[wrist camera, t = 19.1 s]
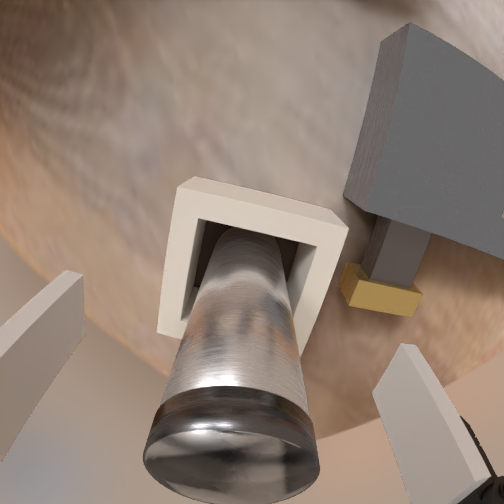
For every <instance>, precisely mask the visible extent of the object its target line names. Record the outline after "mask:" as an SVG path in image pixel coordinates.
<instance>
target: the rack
mask: <svg viewBox="0 0 504 504" xmlns="http://www.w3.org/2000/svg"><path fill="white" fill-rule="evenodd" d="M206 220H209V221H213V222H217V223H222V224H226V225H230V226H235V227H239V228H243V229H247V230H252V231H256V232H260V233H264V234H269V235H273V236H277V237H281V238H285V239H289V240H294V241H298V242H299V245H298V248H297V252H296V255H295V258H294V261H293V265H292V268H291V271H290V274H289V277H288V281H287V284H286V285H287V291H288V296H289V301H290V306H291V312H292V317H293V323H294V328H295V334H296V339H297V345H298V350H299V356H300V357H301V355H302V353H303V350H304V348H305V345H306V343H307V341H308V338H309V336H310V333H311V331H312V328H313V326H314V323H315V321H316V318H317V316H318V313H319V311H320V308H321V306H322V303H323V300H324V298H325V295H326V292H327V290H328V287H329V284H330V282H331V279H332V276H333V273H334V271H335V268H336V265H337V262H338V259H339V257H340V254H341V251H342V248H343V245H344V242H345V239H346V236H347V233H348V230H349V228H348V227H347V226H346V225H345V224H344V223H343V222H342V221H341V220H340V219H339V218H338V217H337V216H336V215H335V214H334V213H333V212H332V211H331V210H330V209H327V208H324V207H320V206H316V205H313V204H309V203H305V202H301V201H298V200H294V199H290V198H286V197H282V196H278V195H274V194H270V193H266V192H262V191H258V190H254V189H249V188H245V187H241V186H237V185H232V184H228V183H223V182H219V181H215V180H210V179H205V178H201V177H196V176H194V177H192V178H191V179H189V180H187V181H186V182H184V183H183V184H181V185H180V186H178V187H177V192H176V197H175V203H174V208H173V214H172V220H171V226H170V232H169V239H168V245H167V252H166V259H165V266H164V273H163V281H162V289H161V297H160V306H159V315H158V325H157V333H159V334H163V335H167V336H171V337H175V338H179V339H182V337H183V334H184V332H185V329H186V326H187V323H188V320H189V317H190V314H191V311H192V308H193V306H194V303H195V300H196V297H197V294H198V291H199V289H200V288H197V287H194V282H195V276H196V271H197V265H198V260H199V255H200V250H201V245H202V239H203V234H204V229H205V224H206Z"/></svg>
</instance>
